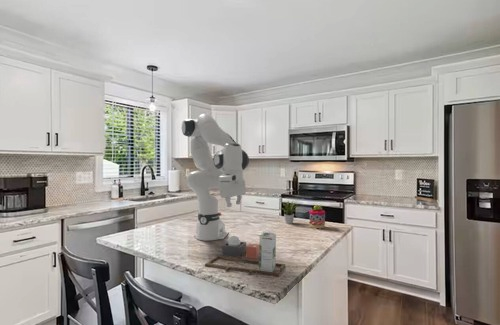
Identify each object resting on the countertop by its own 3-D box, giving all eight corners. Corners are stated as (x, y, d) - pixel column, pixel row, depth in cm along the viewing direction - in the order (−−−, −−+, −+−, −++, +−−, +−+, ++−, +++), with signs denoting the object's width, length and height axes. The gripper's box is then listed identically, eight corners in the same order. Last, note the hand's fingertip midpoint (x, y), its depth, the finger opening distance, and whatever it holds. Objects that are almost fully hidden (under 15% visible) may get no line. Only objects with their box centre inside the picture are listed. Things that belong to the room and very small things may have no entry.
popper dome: (231, 243, 140) (231, 233, 140) (242, 245, 138) (242, 234, 138) (225, 247, 134) (225, 236, 134) (237, 248, 132) (237, 238, 132)
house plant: (293, 226, 190) (293, 202, 190) (275, 224, 197) (275, 200, 197) (302, 222, 202) (302, 200, 202) (284, 220, 209) (284, 198, 209)
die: (249, 253, 135) (249, 242, 135) (259, 255, 133) (259, 243, 133) (246, 257, 130) (246, 245, 130) (256, 258, 128) (256, 246, 128)
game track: (218, 256, 132) (218, 254, 132) (286, 264, 120) (286, 262, 120) (202, 267, 118) (202, 265, 118) (277, 278, 106) (277, 276, 106)
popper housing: (229, 249, 142) (229, 240, 142) (246, 251, 139) (246, 242, 139) (221, 254, 133) (221, 245, 133) (239, 257, 130) (239, 247, 130)
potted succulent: (306, 226, 191) (306, 204, 191) (318, 224, 196) (318, 203, 196) (315, 229, 182) (315, 206, 182) (328, 228, 186) (328, 205, 186)
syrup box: (262, 266, 119) (262, 232, 119) (276, 267, 117) (276, 233, 117) (258, 271, 114) (258, 235, 114) (273, 273, 112) (273, 236, 112)
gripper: (237, 175, 145) (237, 202, 145) (216, 177, 127) (217, 208, 127) (248, 175, 143) (248, 203, 143) (229, 177, 124) (229, 208, 124)
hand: (233, 205), depth 134 cm, fingers open, 8 cm apart
